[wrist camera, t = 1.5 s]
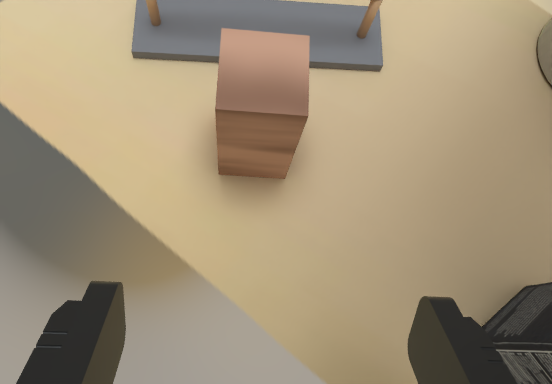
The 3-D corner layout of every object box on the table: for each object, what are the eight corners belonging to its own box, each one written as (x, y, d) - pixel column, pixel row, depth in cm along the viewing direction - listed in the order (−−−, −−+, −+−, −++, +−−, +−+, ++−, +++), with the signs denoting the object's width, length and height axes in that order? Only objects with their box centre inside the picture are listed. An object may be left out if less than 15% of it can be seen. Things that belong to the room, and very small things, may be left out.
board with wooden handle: (140, 1, 36) (119, -78, 29) (374, 17, 38) (408, -55, 31) (134, 60, 35) (111, -8, 28) (378, 73, 36) (414, 12, 29)
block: (223, 113, 34) (221, 28, 24) (286, 118, 34) (309, 35, 25) (218, 174, 33) (215, 109, 23) (284, 178, 33) (308, 115, 23)
